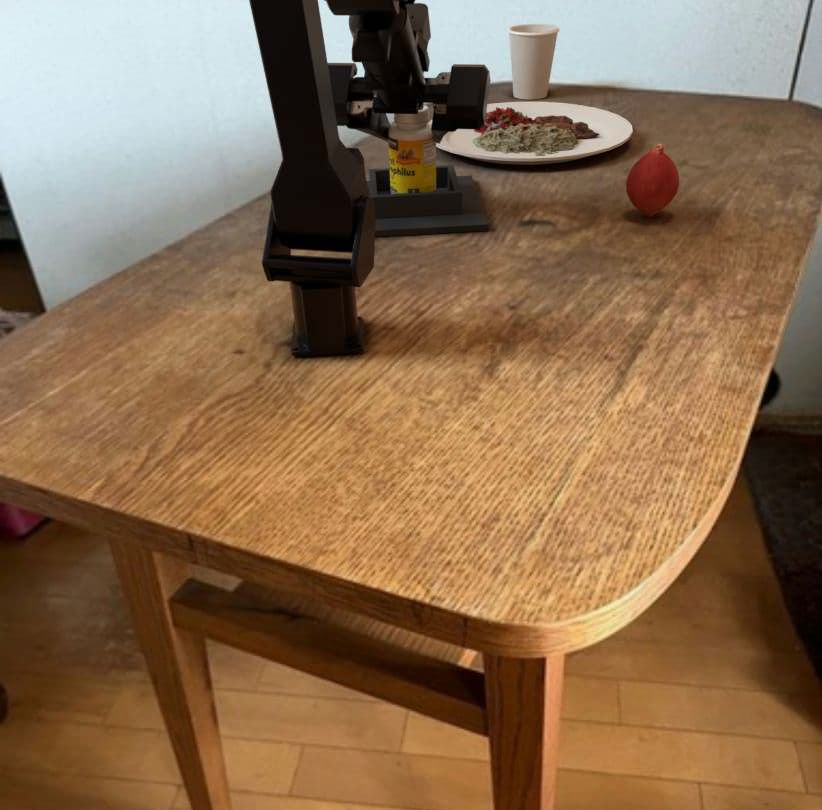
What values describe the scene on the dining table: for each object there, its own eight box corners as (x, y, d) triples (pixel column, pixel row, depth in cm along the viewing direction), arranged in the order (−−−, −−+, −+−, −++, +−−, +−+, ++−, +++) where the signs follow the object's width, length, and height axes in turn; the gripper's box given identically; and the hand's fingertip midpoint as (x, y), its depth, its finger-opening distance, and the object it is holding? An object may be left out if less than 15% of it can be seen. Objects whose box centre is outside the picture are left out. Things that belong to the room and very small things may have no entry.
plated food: (566, 187, 109) (568, 159, 107) (382, 151, 123) (381, 126, 121) (665, 130, 127) (669, 105, 125) (495, 105, 141) (496, 83, 139)
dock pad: (488, 231, 98) (489, 201, 96) (349, 238, 98) (347, 209, 96) (471, 181, 112) (471, 154, 110) (349, 187, 112) (347, 161, 109)
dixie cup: (530, 87, 151) (533, 21, 144) (565, 95, 145) (570, 27, 139) (495, 95, 147) (497, 28, 140) (529, 104, 142) (533, 35, 135)
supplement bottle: (381, 201, 104) (376, 109, 97) (411, 189, 107) (408, 99, 101) (416, 210, 101) (413, 116, 94) (445, 198, 104) (445, 106, 98)
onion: (616, 220, 99) (625, 147, 94) (630, 205, 103) (639, 134, 98) (666, 227, 97) (677, 153, 92) (679, 211, 101) (691, 139, 96)
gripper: (490, -26, 84) (502, 75, 100) (310, -24, 88) (348, 73, 103) (475, 80, 84) (489, 166, 99) (294, 78, 87) (335, 161, 102)
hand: (414, 138), depth 101 cm, fingers closed on supplement bottle, 5 cm apart
